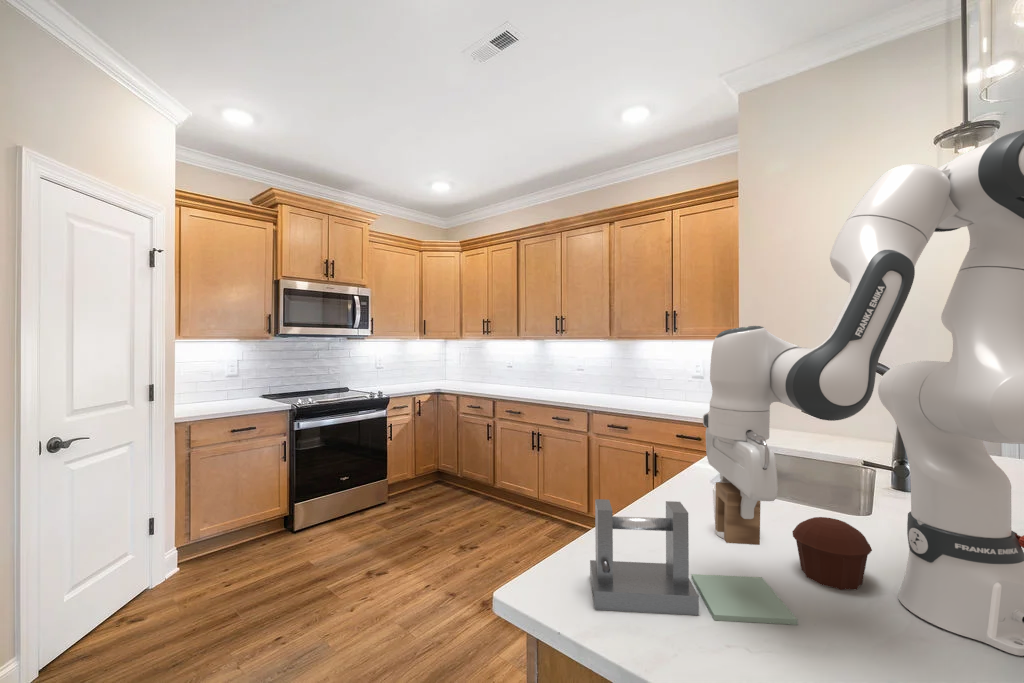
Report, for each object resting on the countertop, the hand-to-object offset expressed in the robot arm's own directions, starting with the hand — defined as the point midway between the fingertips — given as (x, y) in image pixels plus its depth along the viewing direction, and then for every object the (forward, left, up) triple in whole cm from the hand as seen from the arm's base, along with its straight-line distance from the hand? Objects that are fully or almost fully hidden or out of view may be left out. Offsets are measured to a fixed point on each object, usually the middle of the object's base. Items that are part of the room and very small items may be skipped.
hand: (737, 508), depth 74 cm
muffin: (-19, -9, -15) cm, 26 cm away
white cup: (-8, -25, -15) cm, 30 cm away
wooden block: (0, 0, -5) cm, 5 cm away
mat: (0, 0, -15) cm, 15 cm away
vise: (+16, 0, -15) cm, 22 cm away
